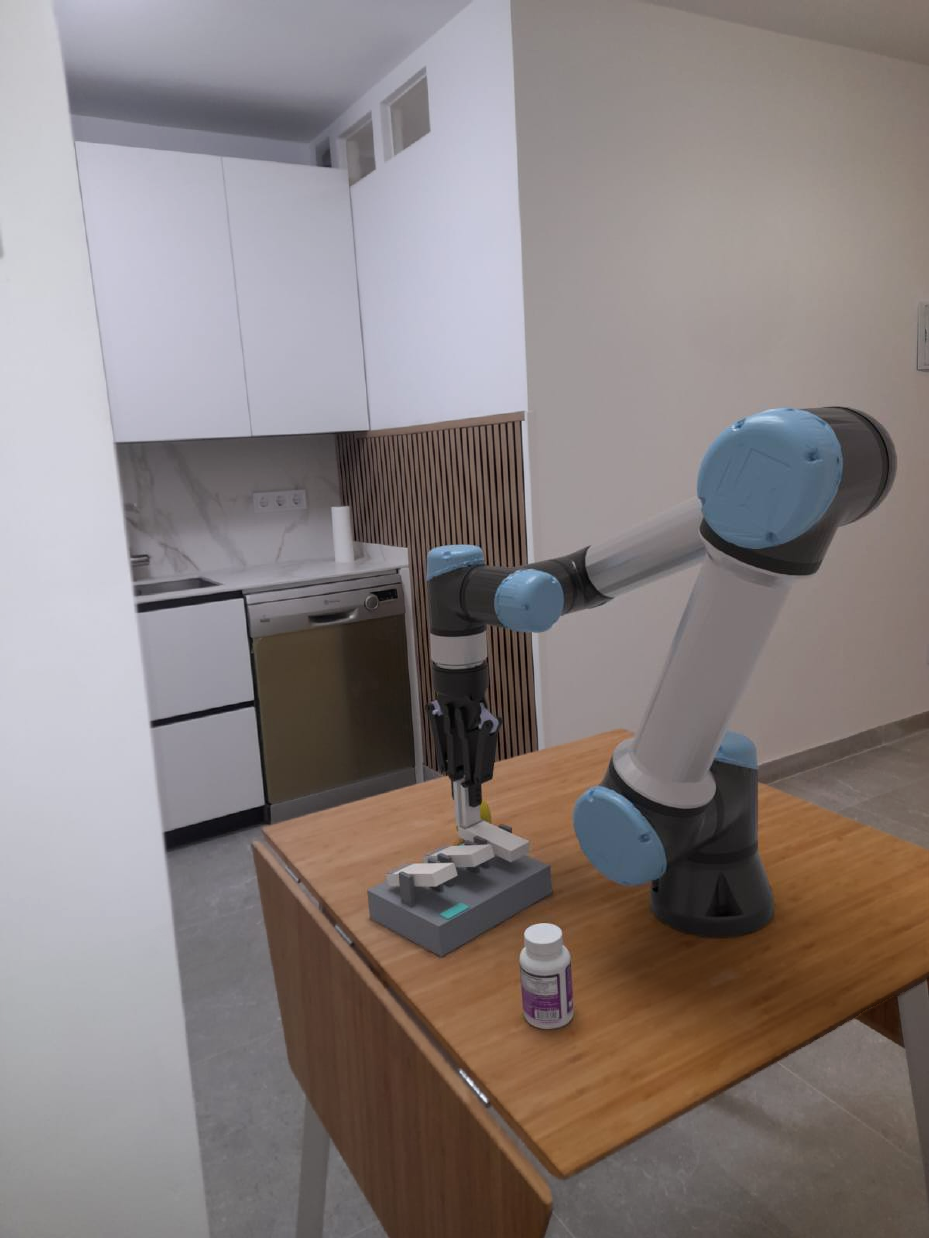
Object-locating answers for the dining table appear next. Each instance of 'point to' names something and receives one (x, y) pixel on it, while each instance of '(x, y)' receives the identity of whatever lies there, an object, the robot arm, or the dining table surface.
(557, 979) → the pill bottle
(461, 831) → the rocker
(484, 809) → the lemon
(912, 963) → the dining table surface
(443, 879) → the rocker
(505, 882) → the console
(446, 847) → the rocker
